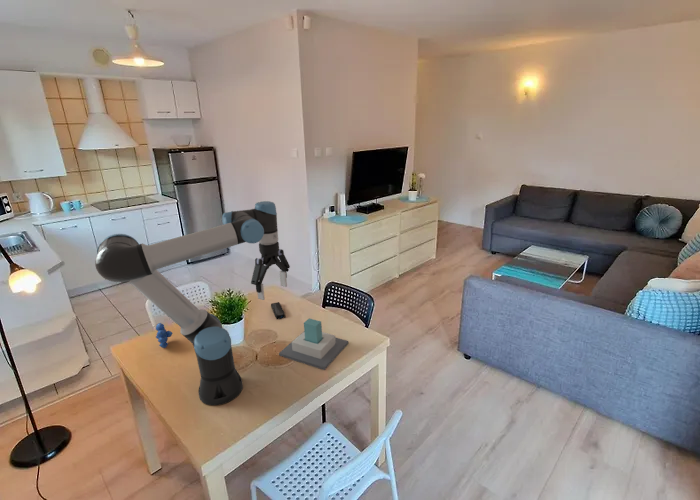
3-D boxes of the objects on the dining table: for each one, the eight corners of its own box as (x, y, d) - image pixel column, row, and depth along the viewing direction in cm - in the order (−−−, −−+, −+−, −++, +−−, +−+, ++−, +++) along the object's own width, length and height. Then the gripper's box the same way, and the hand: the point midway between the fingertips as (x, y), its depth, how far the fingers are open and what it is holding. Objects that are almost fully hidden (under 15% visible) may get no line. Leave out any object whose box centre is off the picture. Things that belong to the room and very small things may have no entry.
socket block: (324, 370, 143) (323, 358, 142) (279, 355, 153) (277, 344, 151) (348, 343, 160) (348, 332, 158) (306, 331, 170) (305, 321, 168)
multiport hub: (279, 305, 195) (279, 301, 195) (285, 318, 183) (285, 314, 182) (271, 307, 194) (270, 303, 193) (276, 320, 181) (276, 316, 180)
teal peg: (317, 351, 153) (316, 326, 149) (305, 347, 156) (303, 322, 152) (322, 346, 156) (321, 321, 152) (311, 342, 159) (309, 318, 155)
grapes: (176, 351, 158) (171, 326, 154) (159, 356, 155) (153, 331, 151) (174, 338, 168) (169, 315, 164) (157, 342, 165) (152, 319, 161)
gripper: (252, 253, 130) (258, 307, 137) (296, 235, 150) (299, 282, 157) (237, 249, 133) (243, 302, 140) (282, 232, 154) (285, 279, 161)
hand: (273, 292), depth 149 cm, fingers open, 13 cm apart
